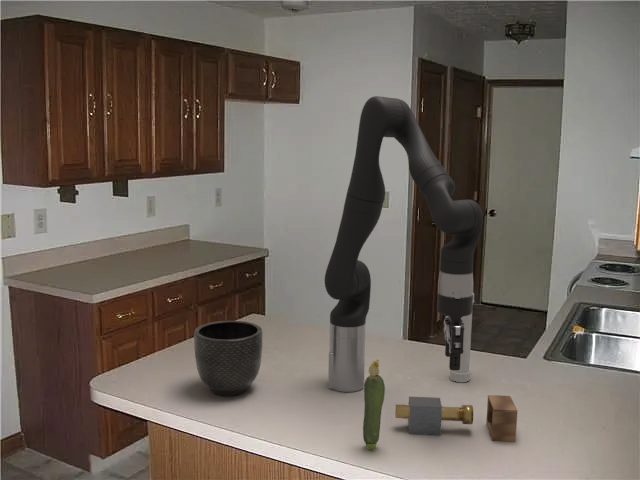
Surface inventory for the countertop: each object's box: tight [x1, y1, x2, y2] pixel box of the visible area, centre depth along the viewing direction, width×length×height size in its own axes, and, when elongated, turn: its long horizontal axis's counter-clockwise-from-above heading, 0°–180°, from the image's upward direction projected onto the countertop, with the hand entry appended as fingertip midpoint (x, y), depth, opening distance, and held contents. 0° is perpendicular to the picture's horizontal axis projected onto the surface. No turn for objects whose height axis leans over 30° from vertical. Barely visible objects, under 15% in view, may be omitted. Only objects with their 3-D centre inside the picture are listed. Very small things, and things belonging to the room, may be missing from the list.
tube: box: [394, 404, 474, 425], centre depth 153 cm, size 17×4×4 cm, turn 85°
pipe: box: [449, 292, 475, 383], centre depth 182 cm, size 6×6×30 cm
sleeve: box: [407, 396, 443, 436], centre depth 153 cm, size 7×5×7 cm
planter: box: [193, 320, 263, 397], centre depth 174 cm, size 17×17×16 cm
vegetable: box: [362, 359, 386, 450], centre depth 143 cm, size 4×4×20 cm
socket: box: [485, 394, 518, 443], centre depth 152 cm, size 5×8×7 cm, turn 175°
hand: (452, 362), depth 151 cm, fingers open, 8 cm apart
